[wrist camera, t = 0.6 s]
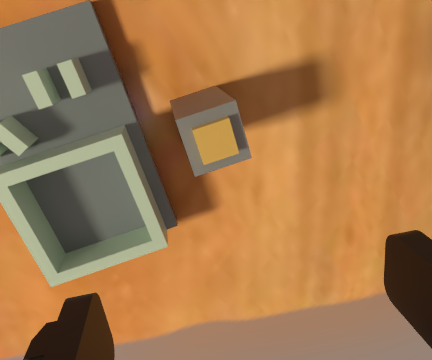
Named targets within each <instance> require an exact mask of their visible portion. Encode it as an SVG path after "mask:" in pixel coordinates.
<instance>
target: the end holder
mask: <svg viewBox="0 0 432 360" xmlns="http://www.w3.org/2000/svg"><path fill="white" fill-rule="evenodd" d="M113 151H114V153H115V155H116V158H117V160H118V162H119V164H120V167H121V169H122V171H123V174H124V176H125V178H126V181H127V183H128V185H129V188H130V190H131V192H132V195H133V197H134V199H135V202H136V204H137V206H138V209H139V211H140V213H141V216H142V218H143V220H144V223H145V225H146V226H144V227H141V228H138V229H135V230H132V231H130V232H127V233H124V234H121V235H118V236H115V237H112V238H109V239H106V240H103V241H100V242H98V243H95V244H92V245H89V246H86V247H83V248H80V249H77V250H74V251H71V252H68V253H65V251H64V249H63V248H62V246H61V244H60V242H59V240H58V239H57V237H56V235H55V233H54V231H53V230H52V228H51V226H50V224H49V222H48V220H47V219H46V217H45V215H44V213H43V211H42V210H41V208H40V206H39V204H38V202H37V201H36V199H35V197H34V195H33V193H32V191H31V190H30V188H29V186H28V184H27V182H26V180H29V179H32V178H35V177H38V176H41V175H44V174H47V173H50V172H53V171H56V170H59V169H62V168H65V167H68V166H71V165H74V164H77V163H80V162H83V161H86V160H89V159H92V158H95V157H98V156H101V155H104V154H107V153H110V152H113ZM0 203H1V204H2V206H3V208H4V209H5V211H6V213H7V214H8V216H9V218H10V219H11V221H12V223H13V224H14V226H15V228H16V229H17V231H18V233H19V234H20V236H21V238H22V239H23V241H24V243H25V244H26V246H27V248H28V249H29V251H30V253H31V254H32V256H33V258H34V259H35V261H36V263H37V264H38V266H39V268H40V270H41V271H42V273H43V275H44V276H45V278H46V280H47V281H48V283H49V285H50V286H51V287H53V286H56V285H59V284H62V283H65V282H68V281H71V280H73V279H76V278H79V277H82V276H85V275H88V274H91V273H94V272H96V271H99V270H102V269H105V268H108V267H111V266H114V265H117V264H120V263H122V262H125V261H128V260H131V259H134V258H137V257H140V256H143V255H145V254H148V253H151V252H154V251H157V250H160V249H163V248H166V247H168V238H167V228H166V226H165V223H164V221H163V218H162V216H161V214H160V211H159V209H158V206H157V204H156V201H155V199H154V196H153V194H152V191H151V189H150V186H149V184H148V181H147V179H146V177H145V174H144V172H143V169H142V167H141V164H140V162H139V159H138V157H137V154H136V152H135V149H134V147H133V144H132V142H131V140H130V137H129V135H128V132H127V130H126V127H125V125H124V126H121V127H118V128H115V129H112V130H109V131H106V132H102V133H99V134H96V135H93V136H90V137H87V138H84V139H81V140H78V141H75V142H72V143H69V144H66V145H63V146H60V147H57V148H54V149H51V150H48V151H45V152H42V153H39V154H36V155H33V156H30V157H27V158H24V159H21V160H18V161H15V162H12V163H9V164H6V165H3V166H1V167H0Z"/></svg>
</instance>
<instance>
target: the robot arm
mask: <svg viewBox="0 0 432 360" xmlns="http://www.w3.org/2000/svg"><path fill="white" fill-rule="evenodd" d="M384 286H385V290H386V293H387V295H388V297H389V299H390V301H391V302H392V303H393V305H394V306H395V307H396V308H397V309H398V310H399V312H400V313H401V314H402V315H403V316H404V317H405V318H406V319H407V321H408V322H409V323H410V324H411V325H412V326H413V327H414V329H415V330H416V331H417V332H418V333H419V335H420V336H421V337H422V338H423V339H424V340H425V341H426V343H427V344H428V345H429V346H430V347H431V348H432V240H431V239H430V238H429V237H427V236H426V235H425V234H423V233H422V232H420V231H418V230H413V231H408V232H403V233H398V234H393V235H389V236H388V237H387V239H386V247H385V268H384ZM23 360H114V343H113V338H112V334H111V331H110V328H109V325H108V322H107V318H106V315H105V312H104V309H103V306H102V303H101V300H100V297H99V295H98V294H97V293H92V294H87V295H82V296H77V297H72V298H67V299H66V300H65V302H64V304H63V307H62V309H61V312H60V315H59V317H58V320H57V321H54V322H49V323H46V324H45V326H44V327H43V328H42V329H41V330H40V331H39V332H38V334H37V335H36V336H35V337H34V338H33V339H32V340H31V343H30V345H29V347H28V350H27V352H26V354H25V357H24V359H23Z"/></svg>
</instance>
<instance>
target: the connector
mask: <svg viewBox="0 0 432 360" xmlns="http://www.w3.org/2000/svg"><path fill="white" fill-rule="evenodd" d="M170 103H171V107H172V111H173V114H174V118H175V121H176V124H177V127H178V130H179V133H180V136H181V138H182V141H183V144H184V147H185V150H186V153H187V156H188V159H189V161H190V164H191V167H192V170H193V173H194V176H195V177H197V176H200V175H203V174H206V173H208V172H211V171H214V170H217V169H220V168H223V167H226V166H229V165H232V164H235V163H238V162H241V161H244V160H247V159H250V158H252V157H251V154H250V150H249V146H248V143H247V139H246V135H245V132H244V128H243V124H242V121H241V117H240V113H239V110H238V106H237V102H236V100H235V99H234V98H232V97H231V96H229V95H228V94H227V93H225V92H224V91H222V90H221V89H220V88H218V87H217V86H213V87H210V88H207V89H204V90H201V91H198V92H195V93H192V94H189V95H186V96H183V97H180V98H177V99H174V100H171V101H170Z"/></svg>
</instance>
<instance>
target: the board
mask: <svg viewBox="0 0 432 360" xmlns="http://www.w3.org/2000/svg"><path fill="white" fill-rule="evenodd" d="M124 125H125V127H126V130H127V132H128V135H129V137H130V140H131V142H132V144H133V147H134V149H135V152H136V154H137V157H138V159H139V162H140V164H141V167H142V169H143V172H144V174H145V177H146V179H147V181H148V184H149V186H150V189H151V191H152V194H153V196H154V199H155V201H156V204H157V206H158V209H159V211H160V214H161V216H162V218H163V221H164V223H165V226H166V228H167V229H169V228H172V227H175V226H177V219H176V217H175V214H174V211H173V209H172V206H171V204H170V201H169V199H168V196H167V193H166V191H165V188H164V186H163V183H162V181H161V178H160V175H159V173H158V170H157V168H156V165H155V163H154V160H153V157H152V155H151V152H150V150H149V147H148V145H147V142H146V139H145V137H144V134H143V132H142V129H141V126H140V124H139V121H138V119H137V116H136V114H135V111H134V108H133V106H132V103H131V101H130V98H129V96H128V93H127V90H126V88H125V85H124V83H123V80H122V78H121V75H120V72H119V70H118V67H117V65H116V62H115V60H114V57H113V54H112V52H111V49H110V47H109V44H108V41H107V39H106V36H105V34H104V31H103V29H102V26H101V23H100V21H99V18H98V16H97V13H96V11H95V8H94V5H93V3H92V1H90V0H88V1H85V2H82V3H79V4H76V5H73V6H69V7H66V8H63V9H60V10H57V11H54V12H50V13H47V14H44V15H41V16H38V17H35V18H31V19H28V20H25V21H22V22H19V23H16V24H12V25H9V26H6V27H3V28H0V167H1V166H3V165H6V164H9V163H12V162H15V161H18V160H21V159H24V158H27V157H30V156H33V155H36V154H39V153H42V152H45V151H48V150H51V149H54V148H57V147H60V146H63V145H66V144H69V143H72V142H75V141H78V140H81V139H84V138H87V137H90V136H93V135H96V134H99V133H102V132H106V131H109V130H112V129H115V128H118V127H121V126H124ZM26 182H27V184H28V186H29V188H30V190H31V191H32V193H33V195H34V197H35V199H36V201H37V202H38V204H39V206H40V208H41V210H42V211H43V213H44V215H45V217H46V219H47V220H48V222H49V224H50V226H51V228H52V230H53V231H54V233H55V235H56V237H57V239H58V240H59V242H60V244H61V246H62V248H63V249H64V251H65V253H68V252H71V251H74V250H77V249H80V248H83V247H86V246H89V245H92V244H95V243H98V242H100V241H103V240H106V239H109V238H112V237H115V236H118V235H121V234H124V233H127V232H130V231H132V230H135V229H138V228H141V227H144V226H146V225H145V223H144V220H143V218H142V216H141V213H140V211H139V209H138V206H137V204H136V202H135V199H134V197H133V195H132V192H131V190H130V188H129V185H128V183H127V181H126V178H125V176H124V174H123V171H122V169H121V167H120V164H119V162H118V160H117V158H116V155H115V153H114V151H113V152H110V153H107V154H104V155H101V156H98V157H95V158H92V159H89V160H86V161H83V162H80V163H77V164H74V165H71V166H68V167H65V168H62V169H59V170H56V171H53V172H50V173H47V174H44V175H41V176H38V177H35V178H32V179H29V180H26Z"/></svg>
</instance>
